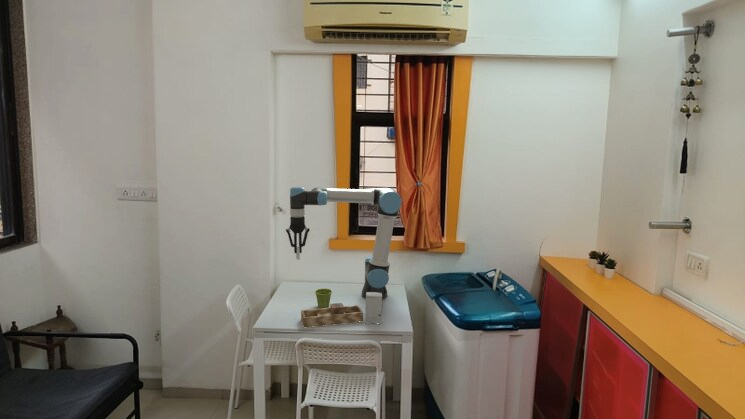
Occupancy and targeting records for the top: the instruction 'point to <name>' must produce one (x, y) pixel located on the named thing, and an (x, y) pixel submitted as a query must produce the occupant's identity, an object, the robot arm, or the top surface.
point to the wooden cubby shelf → (331, 316)
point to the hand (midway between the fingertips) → (298, 258)
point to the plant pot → (323, 297)
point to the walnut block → (336, 308)
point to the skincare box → (373, 307)
